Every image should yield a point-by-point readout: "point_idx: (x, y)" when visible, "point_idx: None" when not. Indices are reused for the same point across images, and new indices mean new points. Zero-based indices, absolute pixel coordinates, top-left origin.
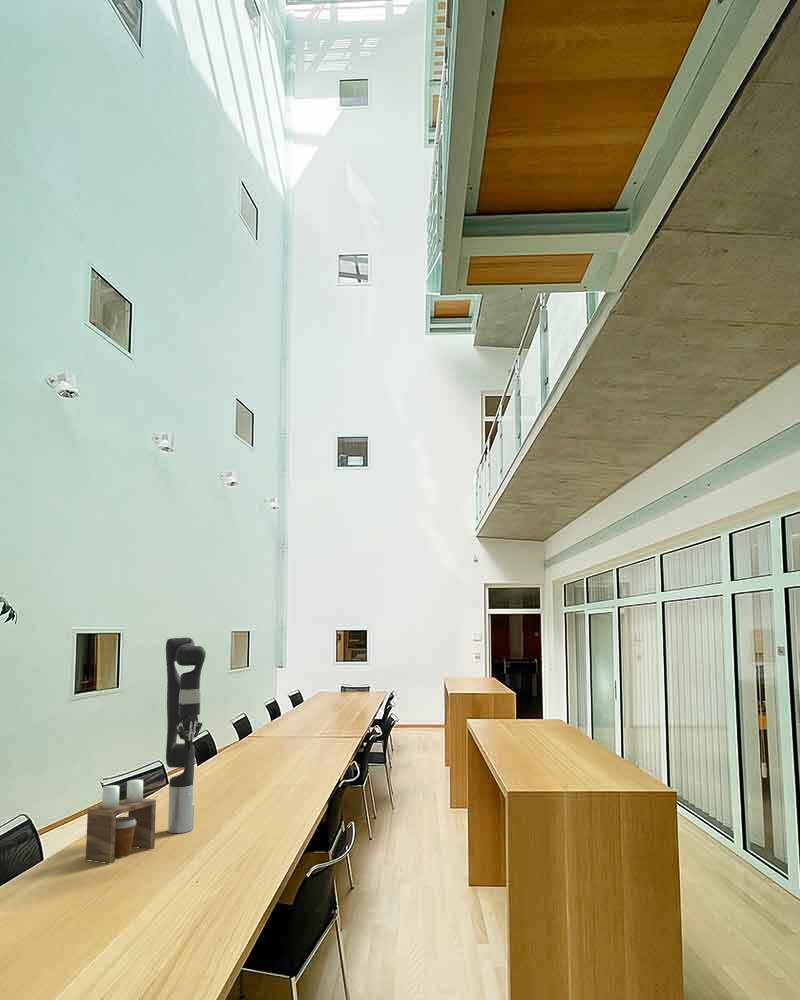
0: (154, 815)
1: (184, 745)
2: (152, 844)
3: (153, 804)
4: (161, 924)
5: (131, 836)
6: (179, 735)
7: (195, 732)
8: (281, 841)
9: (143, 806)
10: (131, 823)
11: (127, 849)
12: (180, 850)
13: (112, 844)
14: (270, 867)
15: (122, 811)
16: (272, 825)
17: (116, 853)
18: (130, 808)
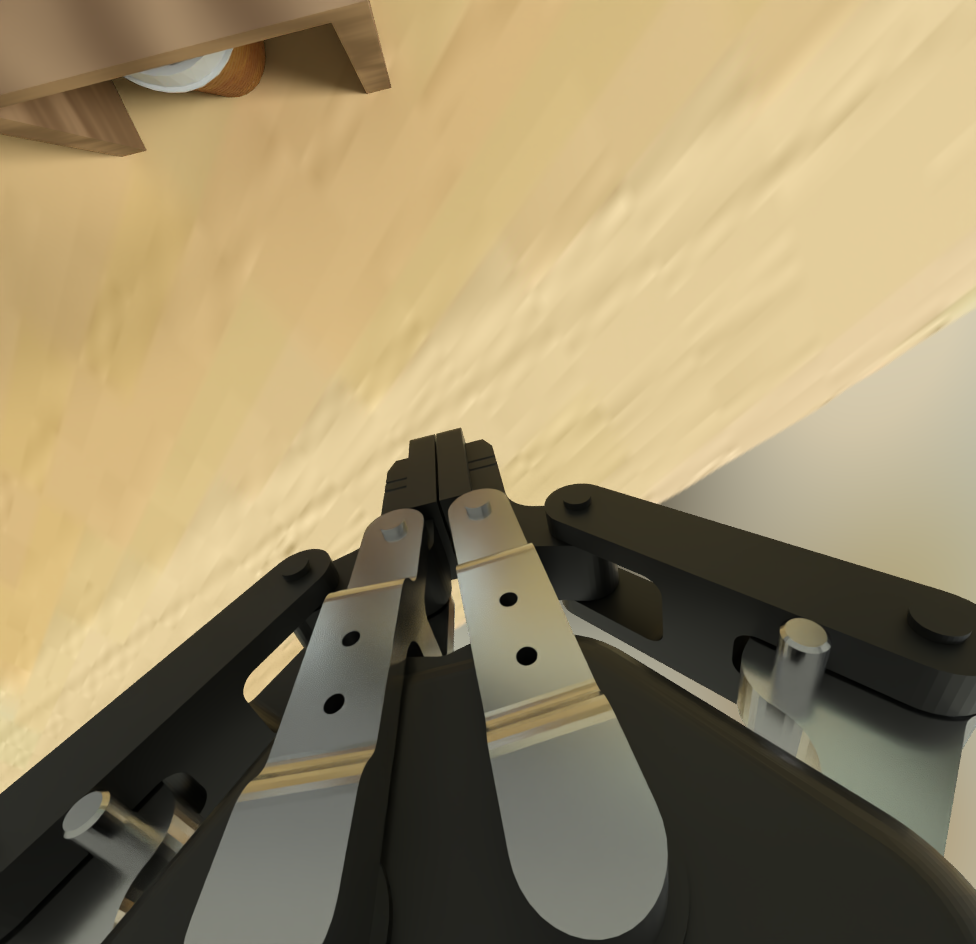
0: (369, 41)
1: (386, 492)
2: (376, 85)
3: (347, 17)
4: (100, 692)
5: (217, 87)
6: (210, 643)
7: (616, 626)
8: (700, 427)
9: (241, 43)
10: (177, 84)
11: (221, 94)
12: (444, 231)
13: (81, 143)
14: None
15: (31, 94)
16: (901, 224)
17: None
18: (105, 73)
